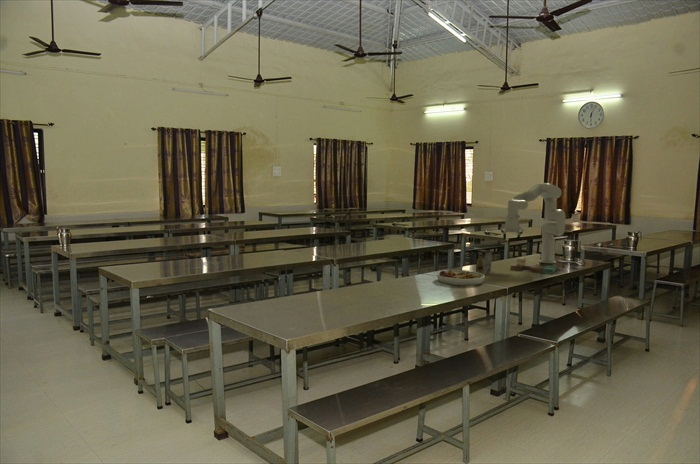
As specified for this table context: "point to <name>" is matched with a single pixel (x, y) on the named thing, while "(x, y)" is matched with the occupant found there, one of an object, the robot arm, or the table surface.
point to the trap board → (534, 268)
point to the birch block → (521, 261)
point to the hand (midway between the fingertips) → (511, 239)
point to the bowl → (460, 277)
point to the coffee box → (483, 261)
